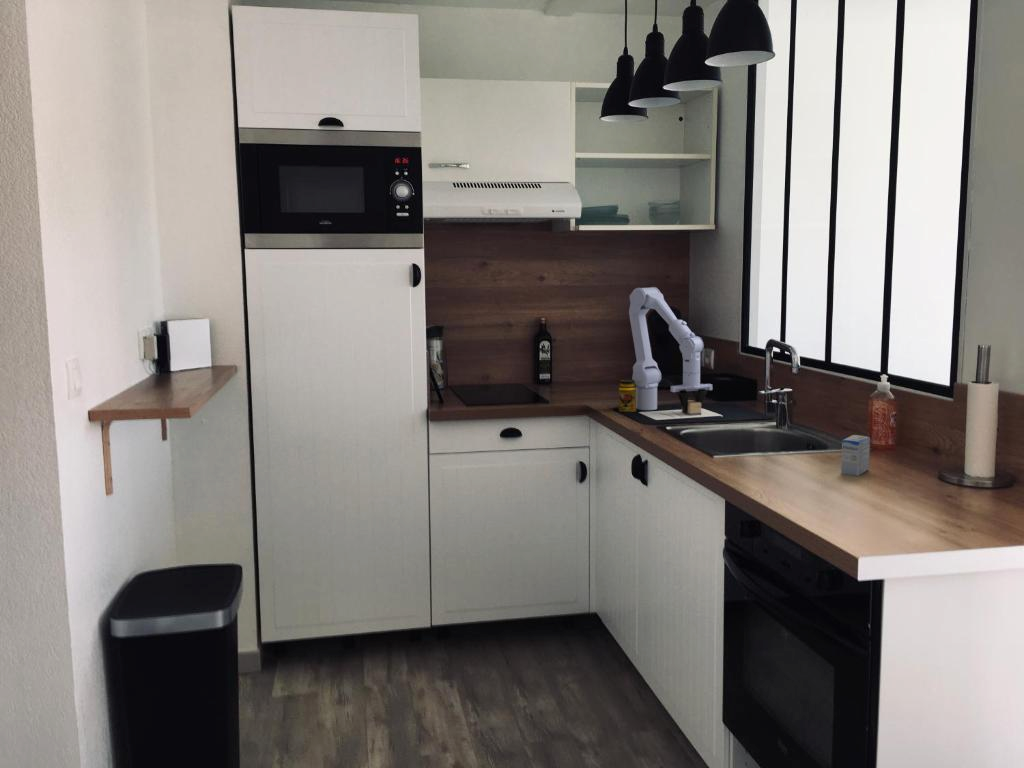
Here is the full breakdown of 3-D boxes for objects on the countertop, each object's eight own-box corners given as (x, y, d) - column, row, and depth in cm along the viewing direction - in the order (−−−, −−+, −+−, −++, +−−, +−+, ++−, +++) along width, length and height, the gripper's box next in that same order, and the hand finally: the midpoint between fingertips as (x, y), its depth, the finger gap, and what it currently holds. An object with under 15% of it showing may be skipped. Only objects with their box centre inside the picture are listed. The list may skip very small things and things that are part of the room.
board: (638, 415, 311) (638, 412, 311) (702, 411, 317) (702, 408, 317) (656, 423, 296) (656, 419, 296) (722, 418, 301) (722, 415, 301)
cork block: (681, 412, 309) (681, 400, 308) (692, 411, 310) (692, 400, 309) (690, 415, 302) (690, 403, 302) (701, 414, 303) (701, 403, 302)
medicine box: (851, 468, 228) (852, 434, 226) (869, 470, 225) (870, 436, 224) (840, 474, 222) (841, 439, 220) (858, 476, 219) (859, 441, 218)
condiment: (622, 416, 312) (622, 382, 310) (612, 412, 320) (612, 379, 318) (641, 414, 314) (641, 380, 312) (631, 411, 322) (631, 378, 320)
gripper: (676, 374, 299) (676, 414, 300) (716, 372, 302) (716, 412, 304) (668, 372, 305) (668, 411, 307) (707, 370, 309) (707, 409, 310)
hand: (691, 411), depth 306 cm, fingers closed on cork block, 4 cm apart
